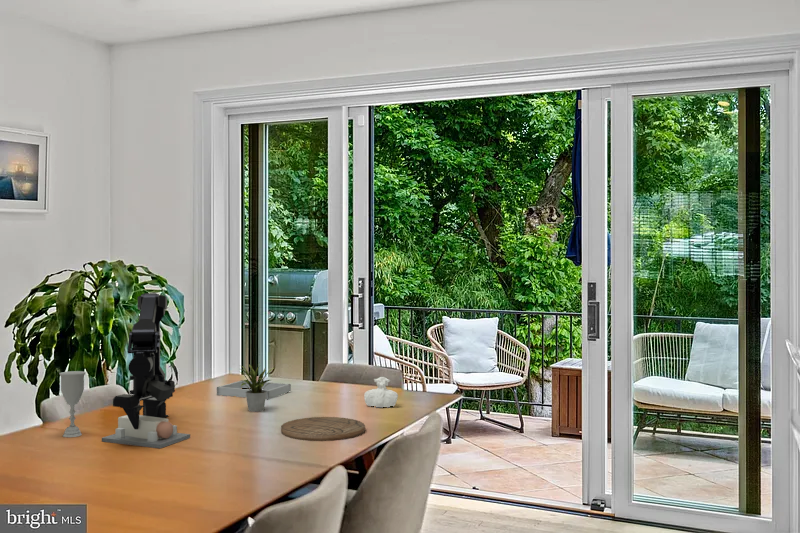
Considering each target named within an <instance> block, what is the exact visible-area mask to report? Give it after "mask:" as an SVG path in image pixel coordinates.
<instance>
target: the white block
mask: <svg viewBox="0 0 800 533" xmlns="http://www.w3.org/2000/svg"><path fill="white" fill-rule="evenodd" d="M173 425H174V424H173V423H172V422H171V421H169V418H167V417H164V418H159V417H151V416H143V414H139V426H138V429H134V428H133V426H132V424H131V422H130V420H129V418H128V416H127V414H125V415H122V416H119V417H118V418H117V428H125V436H130V437H137V438H143V439H147V438H148V432H150V431H153V432H157V440H158V439H161V438H169V437H170V436H171V435H172V432H173Z"/></svg>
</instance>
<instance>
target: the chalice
mask: <svg viewBox="0 0 800 533" xmlns="http://www.w3.org/2000/svg"><path fill="white" fill-rule="evenodd" d="M86 373H87V372H86V371H82V370H75V371H74V370H71V371H70V370H69V371H64V372H62V371H61V372H59V373H58V374H59V376H60V391H61V393H62V394H61V395H62V397H63V398H64V400H65V403H66V404H67V405H68V406H69V407H70V411H69V414H70V417H69V418H68V419H69V421H70V424H69V426H68V427H66V428H65V430H64V433H63V434H62V437H63V438H77V437H80V436H82V432H81V430H80V427H78V426H76V424H75V420H76V417H75V414H76V411H75V406H76V405H79V404H78V403H79V402H80V399H81V398H82V396H83V393H84V390H85V375H86Z"/></svg>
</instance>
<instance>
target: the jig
mask: <svg viewBox="0 0 800 533" xmlns="http://www.w3.org/2000/svg"><path fill="white" fill-rule="evenodd" d="M172 425H173V432H172V435H171V436H170V437H169V438H161V439H158V440H157V432H153V431H150V432H148V438H147V439H143V438H137V437H130V436H125V428H118V427H117V428H115V429H114V430H115V433H112V434H109V435H107V436H103V437H101V442H104V443H112V444H113V443H114V444H120V445H129V446H136V447H144V448H145V447H147V448H153V449H154V448H155V449H163V448H165V447H168V446H170V445H174V444H176V443H180V442H182V441H186V440H188V439H190V438H191V434H190V433H181V432H178V425H176V424H172Z"/></svg>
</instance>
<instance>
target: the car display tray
mask: <svg viewBox="0 0 800 533" xmlns="http://www.w3.org/2000/svg"><path fill="white" fill-rule="evenodd" d="M239 381H240V382H239ZM249 381H250V383H251V384H252V382H251V380H249ZM242 382H243V383H247V382H245V381H244V380H237V381H234V382H231V383H227V384H223V385H220V386H216V396H221V395H223V396H222V397H233V396H236V397H235V398H237V397H238V398H245V397H246V391H250V390H251V389H250V390H249V389H241V388H250V386H249V385H248V384H244V385H242V386H241V384H242ZM260 383H261V382H260ZM268 383H270V384H268ZM267 384H268V385H267ZM291 385H292V383H281V382H271V381H268V382H266V383H265V384H264V386H263V387H262V389H263V388H264V390H265V391H267V393H266V399H265V400H270V399H273V397H274V398H277V397H279V395H280V396H282V395H281V394H283V395H285V394H284V393H286V394H287V392H289V391H291V390H292V388H291V387H292V386H291ZM289 393H290V392H289ZM276 396H277V397H276Z"/></svg>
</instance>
